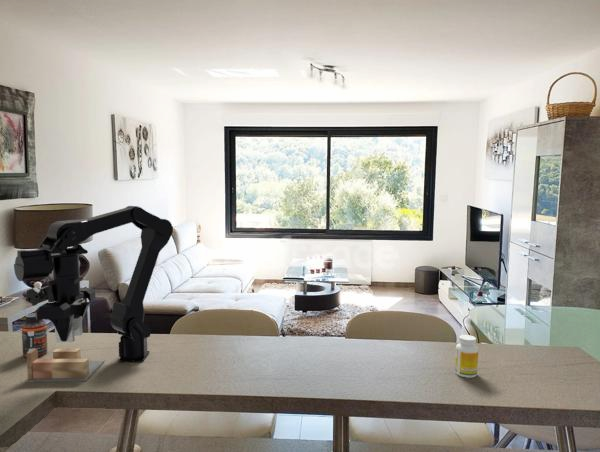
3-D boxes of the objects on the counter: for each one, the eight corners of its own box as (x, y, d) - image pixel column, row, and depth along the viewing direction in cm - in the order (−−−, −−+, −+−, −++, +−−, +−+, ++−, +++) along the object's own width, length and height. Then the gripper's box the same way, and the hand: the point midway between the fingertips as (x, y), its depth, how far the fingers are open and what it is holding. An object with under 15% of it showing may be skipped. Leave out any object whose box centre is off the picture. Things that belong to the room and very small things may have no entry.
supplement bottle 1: (36, 359, 124) (34, 318, 123) (17, 357, 125) (15, 317, 124) (52, 351, 130) (50, 312, 129) (34, 349, 131) (32, 311, 130)
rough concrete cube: (82, 334, 115) (81, 315, 114) (72, 342, 109) (71, 322, 109) (66, 334, 115) (65, 315, 114) (55, 342, 109) (54, 322, 109)
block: (100, 362, 121) (99, 338, 120) (85, 378, 112) (83, 352, 111) (47, 363, 120) (46, 339, 120) (27, 379, 111) (26, 353, 110)
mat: (104, 362, 123) (104, 360, 122) (86, 381, 111) (86, 379, 111) (50, 362, 122) (50, 361, 122) (26, 381, 110) (26, 380, 110)
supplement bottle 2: (450, 371, 118) (451, 335, 117) (465, 368, 120) (467, 332, 119) (466, 380, 113) (467, 342, 112) (481, 376, 116) (483, 339, 115)
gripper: (51, 266, 119) (54, 325, 121) (9, 283, 101) (13, 351, 102) (94, 266, 120) (97, 324, 121) (61, 282, 101) (64, 351, 103)
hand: (69, 336), depth 112 cm, fingers closed on rough concrete cube, 5 cm apart
